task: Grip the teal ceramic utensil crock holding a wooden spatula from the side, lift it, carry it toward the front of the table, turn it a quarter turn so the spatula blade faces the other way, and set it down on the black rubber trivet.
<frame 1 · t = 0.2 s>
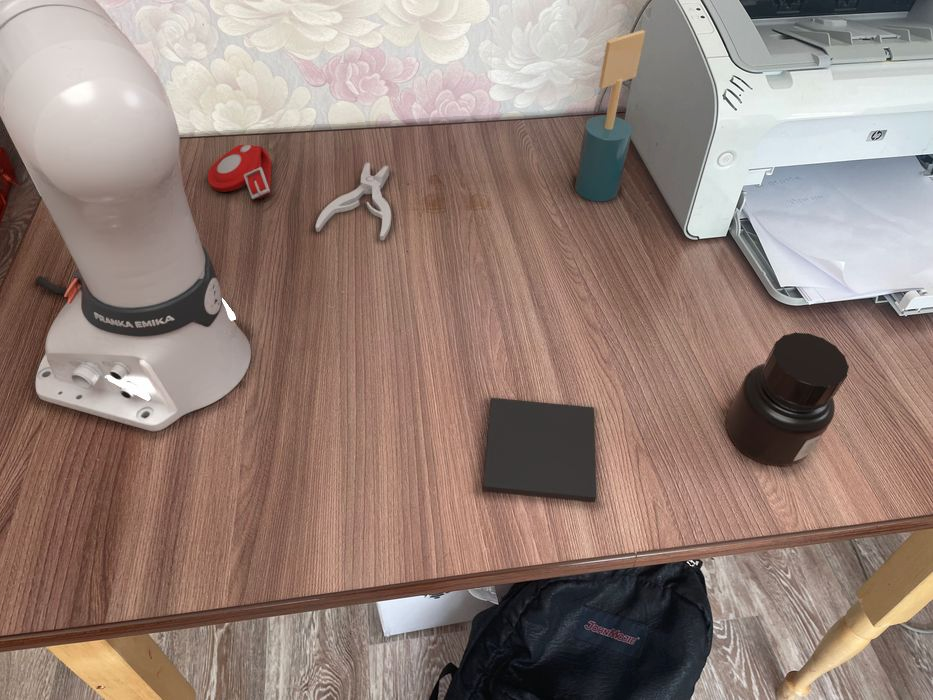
ink bottle: (766, 433, 75), on the table
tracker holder: (244, 185, 103), on the table
spatula crock: (596, 188, 104), on the table
pliers: (364, 204, 100), on the table
trivet: (540, 450, 73), on the table
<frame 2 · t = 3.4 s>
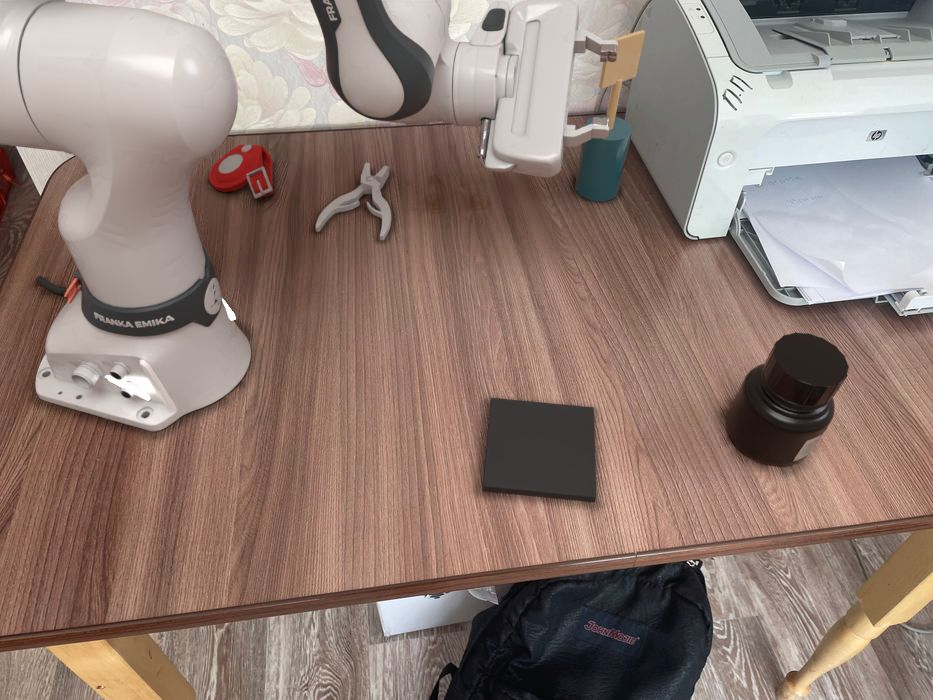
hand: (613, 89, 76), 24 cm above the table, tool horizontal, fingers open, 8 cm apart
nothing on the table moved.
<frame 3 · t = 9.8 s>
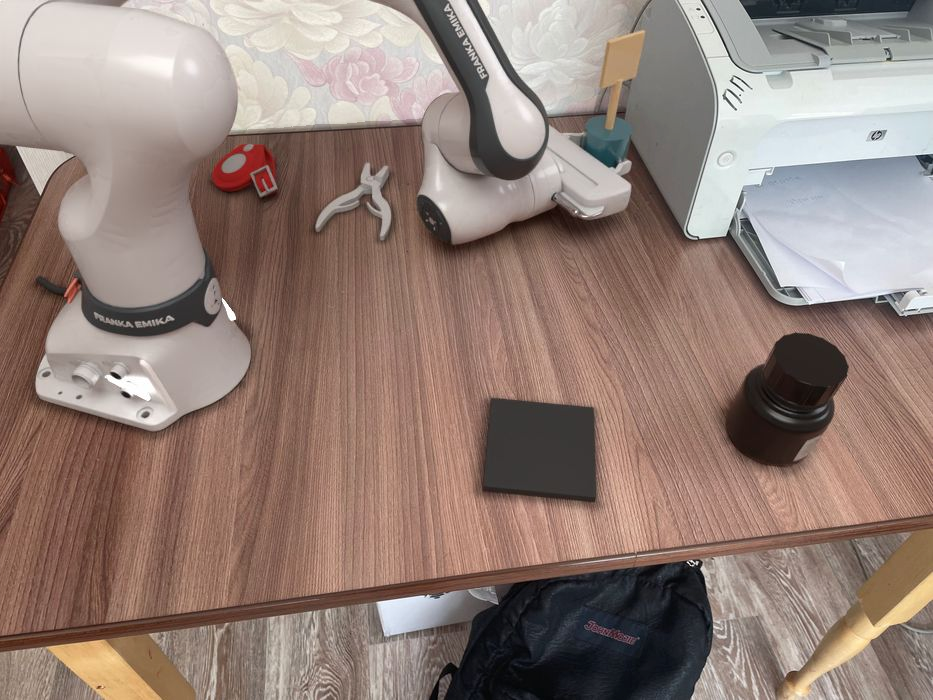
hand: (608, 150, 100), 6 cm above the table, tool horizontal, fingers closed on spatula crock, 6 cm apart
spatula crock: (596, 188, 104), on the table, touching gripper
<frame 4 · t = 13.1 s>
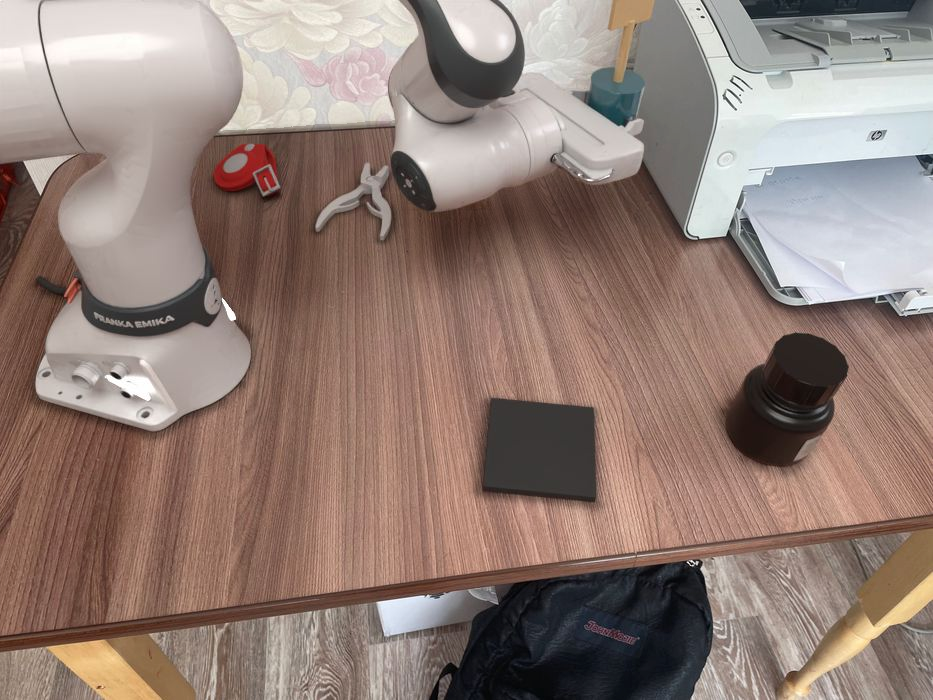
hand: (616, 108, 86), 17 cm above the table, tool horizontal, fingers closed on spatula crock, 6 cm apart
spatula crock: (602, 154, 91), point 11 cm above the table, touching gripper
everything else where it was.
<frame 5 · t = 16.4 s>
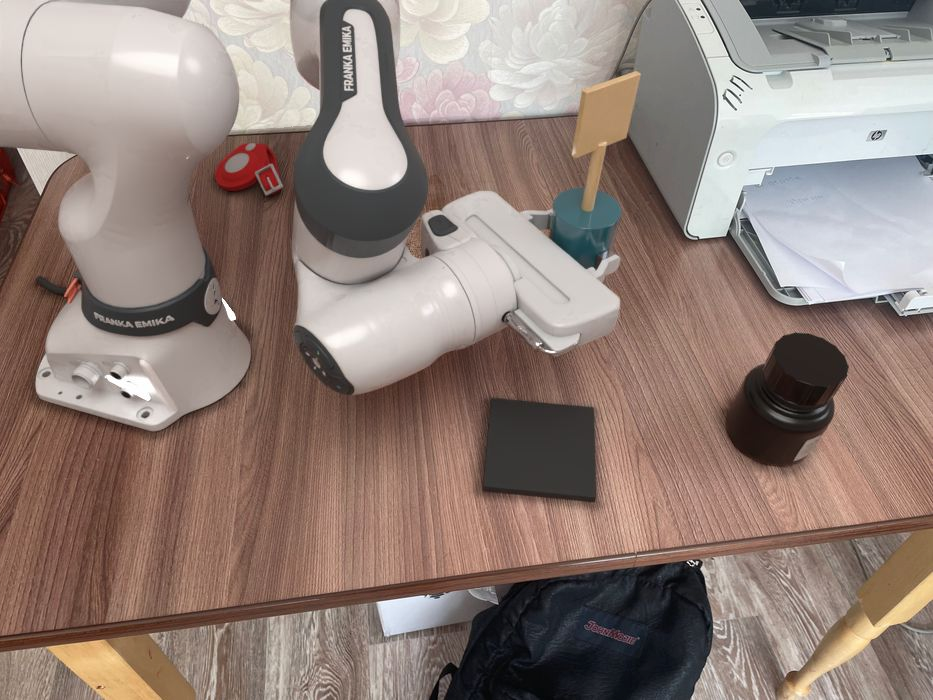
hand: (587, 236, 70), 17 cm above the table, tool horizontal, fingers closed on spatula crock, 6 cm apart
spatula crock: (572, 285, 74), point 11 cm above the table, touching gripper
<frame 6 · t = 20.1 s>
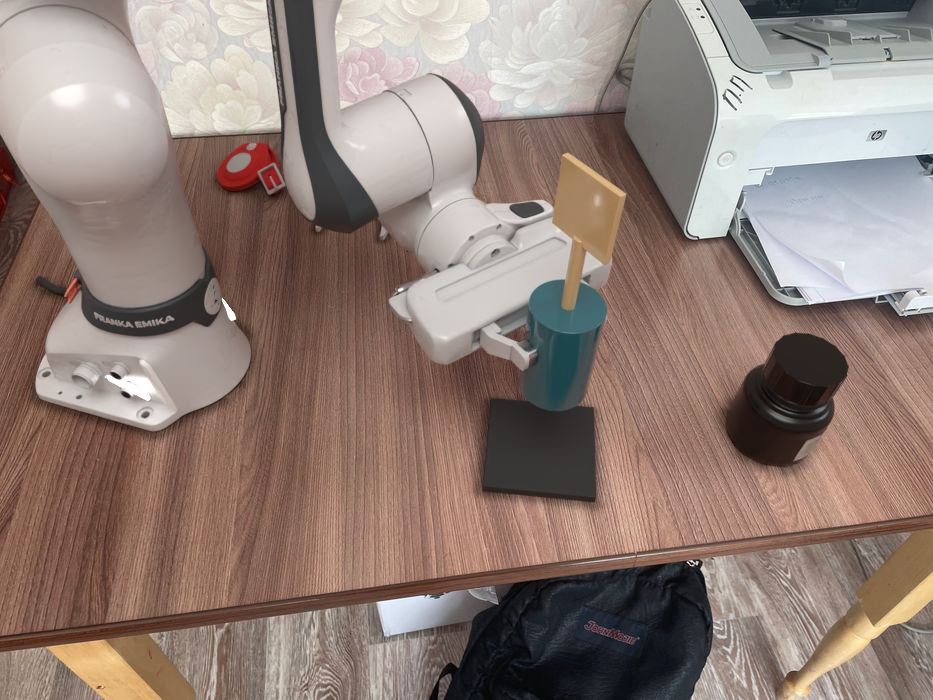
hand: (567, 343, 60), 17 cm above the table, tool horizontal, fingers closed on spatula crock, 6 cm apart
spatula crock: (552, 383, 65), point 11 cm above the table, touching gripper
when the fingers open (7 cm above the table, at t = 23.5 s): spatula crock stays where it is, resting on trivet.
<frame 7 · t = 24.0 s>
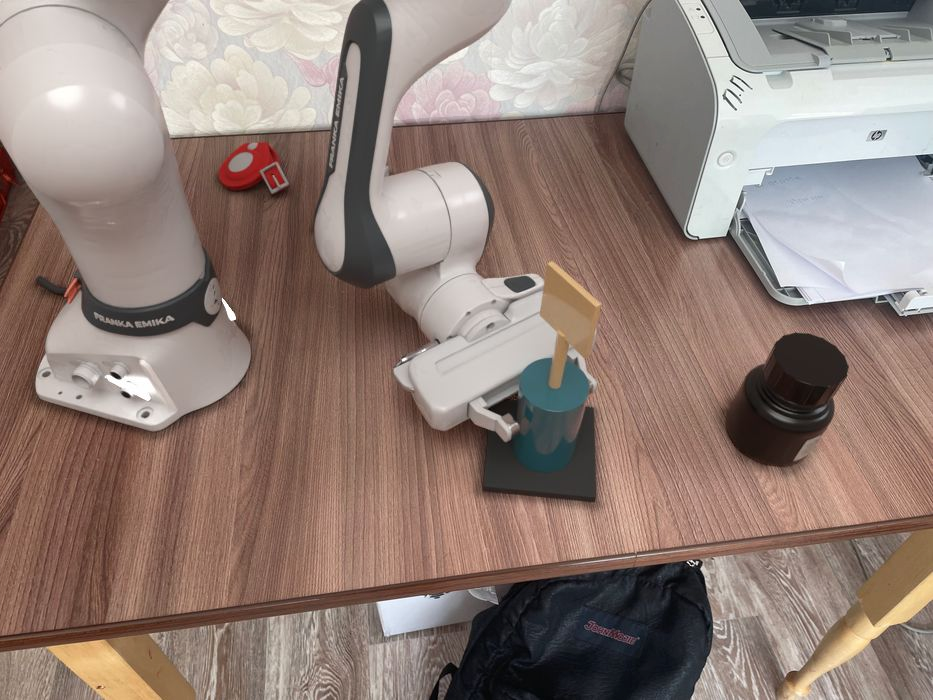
hand: (553, 412, 67), 8 cm above the table, tool horizontal, fingers open, 8 cm apart
spatula crock: (542, 445, 72), point 1 cm above the table, touching trivet
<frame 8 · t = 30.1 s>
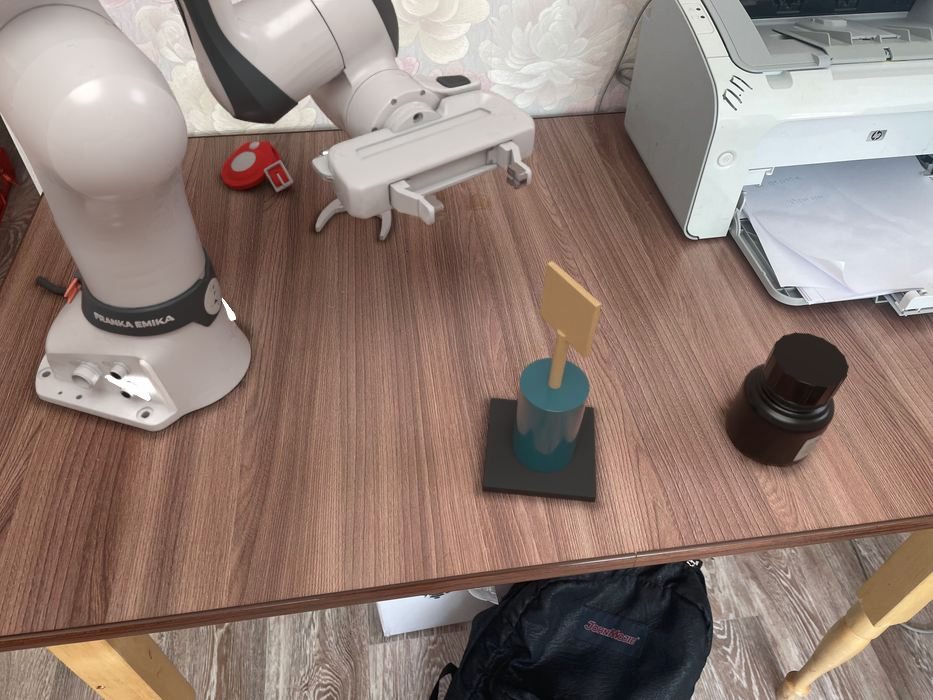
hand: (482, 197, 62), 24 cm above the table, tool horizontal, fingers open, 8 cm apart
at the end: spatula crock 0.2 cm off-centre on the trivet, point 1.0 cm above the trivet's base; spatula crock tilted 0°; the gripper is holding nothing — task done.
